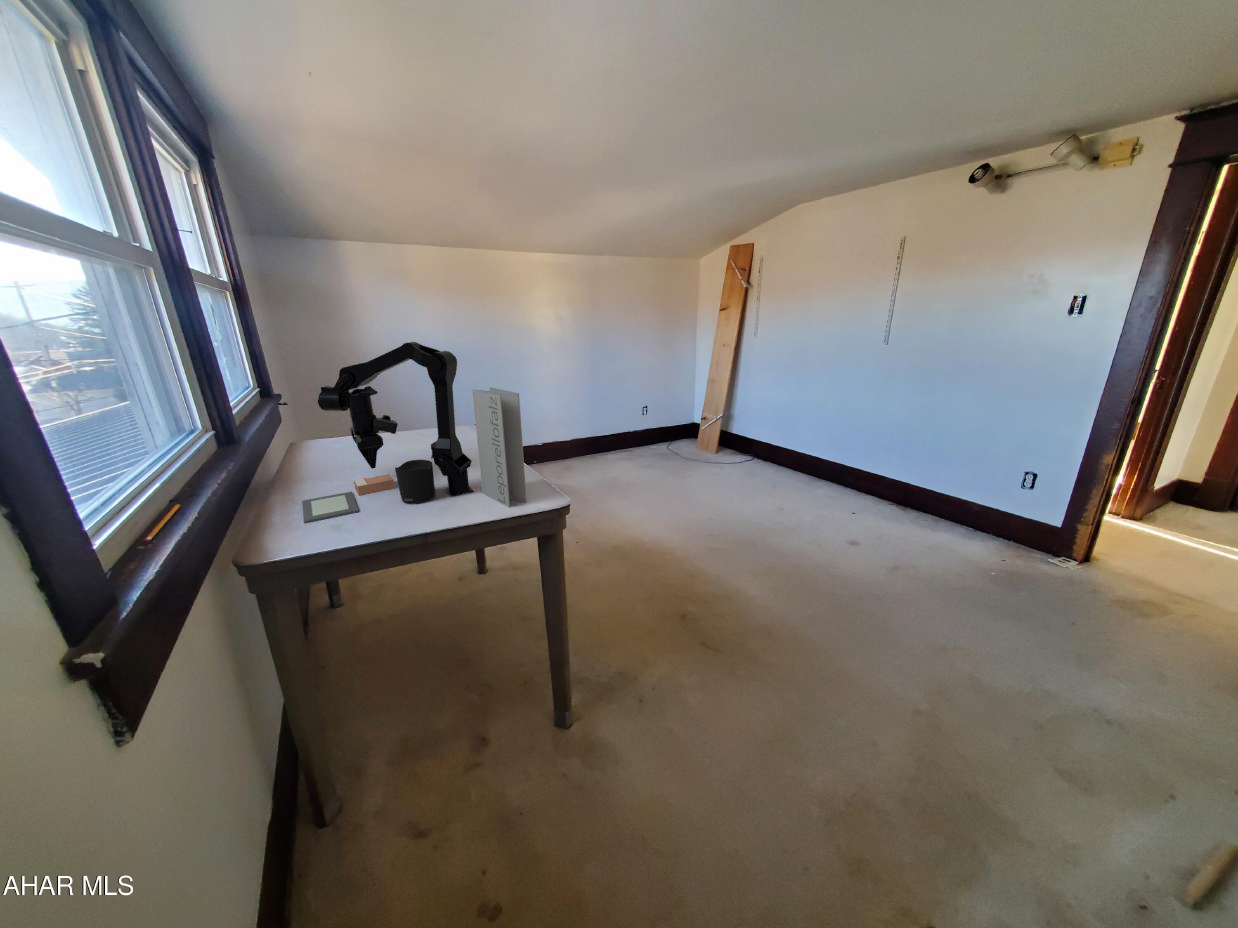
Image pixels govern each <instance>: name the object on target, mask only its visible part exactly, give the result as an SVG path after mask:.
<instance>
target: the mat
mask: <svg viewBox="0 0 1238 928" xmlns="http://www.w3.org/2000/svg"><path fill="white" fill-rule="evenodd" d="M354 496H355V495H354V493H353V492H352V491H347V492H341V493H335V494H330V495H324V496H320V497H316V498H315V497H314V498H309V499H303V500H301V501H302V516H303V517H302V518H303V523H304V524H308V523H314V522H317V521H322V520H323V521H324V520H329V519H333V518H337V517H342V516H347V515H351V514H356V513H360V511H359V507H358V505H357V502H356V499H355V497H354Z"/></svg>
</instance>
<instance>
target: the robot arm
mask: <svg viewBox="0 0 1238 928" xmlns="http://www.w3.org/2000/svg"><path fill="white" fill-rule="evenodd" d="M410 360H411V361H413V362H414V363H416V364H417V365H419V366H422V367H424V368H426V371H427V375H428V377H429V379H430V381H431V383H432V385H433V388H434V398H435V400H434V401H435V414H436V425H437V426H436V427H437V439H436V440H435V441H434V442H432V443H430V449H431V459H433V463H434V465H435V466H437V467H438V469H439V470H440V473H441V475H442V476H443V477H446V479H447V487H445V489H444V491H445V492H446V493H447V494H448V495H449V496H450V497H455V496H459V495H464V494H470V493H473V492H474V489H473V488H472V487H471V486H470V483H469V473H468V468H470V467H471V465H472V462H473V461H472V459H470V458H469V456H467V455H466V454H464V452H463V448H462V444H461V442H460V440H459V439H458V437H457V435H456V418H455V405H454V403H455V402H454V388H453V387H454V386H453V385H454V382H455V378H456V375H457V371H458V370H457V369H458V368H457V367H458V358H457V357H456V356H455V355H454V354H453V352H451V351H449V350H442V351H441V350H439V349H436V348H433V347H429V346H426V345H423V344H421V343H418V342H417V341H410V342H404V343H403V344H402V345H401V346H398V347H396V348H394V349H392V350H390V351H387V352H386V353H383V354H380V355H379V356H377V357H375V358H373V359H371V360H368V361H366V362H361V363H356V364H352V365H348V366H343V367H341V368H340V369H339V372H338V378H337V380H336V382H335V384H334V386H331V385H324V386H321V387H320V390H321V391H320V392H319V394H318V399H317V404H318V406H319V408H320V409H321V410H323V411H324V412H325V411H326V412H327V411H328V412H339V411H340V412H346V411H348V410H349V418H350V420H351V425H352V426H351V427H350V428H349V430H350V431H349V432H350V434H351V435H350V436H351V437H352V440H353V442H354V443H355V445H356V447H357V450H358V451H359V453H360V454H361V455H362V456H363V458H364V460H365V462H367V464H368V465H369V467H370V469H376V467H377V458H378V457H377V456H378V450H380V449H381V448H382V447H383V446H384V439H383V437H382V436H381V435H380V434H379V433H380V432H384V433H389V434H392V435H396V434H397V429H398V425H399V424H398V422H397V421H395V420H392V419H391V416H390V415H386V414H383V415H382V416H381V417H377V415H376V414H375V413H374V409H373V403H372V398H371V396H374V395H377V394H378V390H376V389H374V388H373V387H372V386H371V385H368V384H370V383H371V382H373V381H374V380H376V379H377V377H378V376H380V374H382V373H384V372H385V371H388V370H390V369H392V368H394V367H397V366H399V365H401V364H403V363H406V362H408V361H410ZM362 386H364V388H359V387H362Z"/></svg>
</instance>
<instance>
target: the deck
mask: <svg viewBox="0 0 1238 928" xmlns="http://www.w3.org/2000/svg"><path fill="white" fill-rule="evenodd" d="M353 484H354V489H355V492H356V493H357V495H358V496H359V497H362V496H366V495H370V494H376V493H380V492H384V491H390V490H395V488H396V486H395V480H394V478H393V477H392V476H391V475H390V474H382V475H378V476H372V477H367V478H360V479H355V480H353Z"/></svg>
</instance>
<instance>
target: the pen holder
mask: <svg viewBox="0 0 1238 928" xmlns="http://www.w3.org/2000/svg"><path fill="white" fill-rule="evenodd" d="M433 468H434V467H433V462H432V461H431V460H429V459H411V460H408V461H406V462H404V463H402V464H401V465H400V466H398V467H394V469H395V475H396V480H397V485H398V488H399V493H400V499H401V502H403V503H405V504H407V505H408V504H409V505H419V504H424V503H427V502H430V501H432V500H433V499H434V498H435V496H436V494H435V493H436V492H435V491H436V489H435V476H434V469H433Z"/></svg>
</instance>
